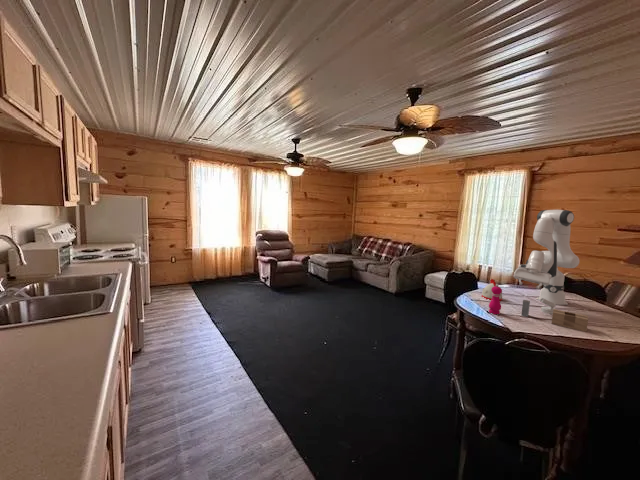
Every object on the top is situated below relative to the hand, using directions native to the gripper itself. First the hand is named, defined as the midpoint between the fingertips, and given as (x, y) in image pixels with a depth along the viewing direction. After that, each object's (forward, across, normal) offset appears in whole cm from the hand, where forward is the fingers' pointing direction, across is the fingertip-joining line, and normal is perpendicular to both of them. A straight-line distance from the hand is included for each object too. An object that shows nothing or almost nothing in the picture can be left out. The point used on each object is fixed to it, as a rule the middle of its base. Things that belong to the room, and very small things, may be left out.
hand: (528, 286), depth 194 cm
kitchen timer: (+4, +22, -26) cm, 34 cm away
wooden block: (+19, -24, -3) cm, 30 cm away
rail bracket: (+20, -2, -5) cm, 20 cm away
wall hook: (+6, -13, -19) cm, 24 cm away
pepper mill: (+27, +14, +2) cm, 31 cm away
